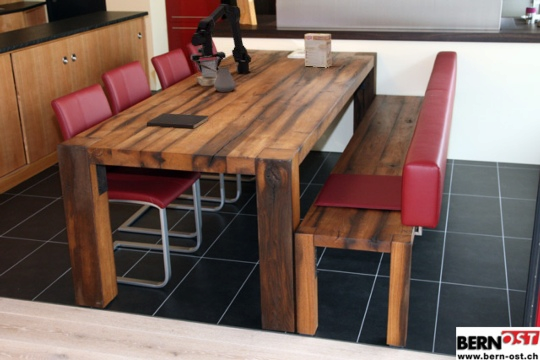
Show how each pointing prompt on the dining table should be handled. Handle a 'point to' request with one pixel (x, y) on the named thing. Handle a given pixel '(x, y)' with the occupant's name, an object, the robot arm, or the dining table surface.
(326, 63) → the coffeecake box
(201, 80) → the cream shallow bowl
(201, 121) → the hardcover book
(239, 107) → the dining table surface
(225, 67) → the coffee pot
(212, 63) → the medicine box
